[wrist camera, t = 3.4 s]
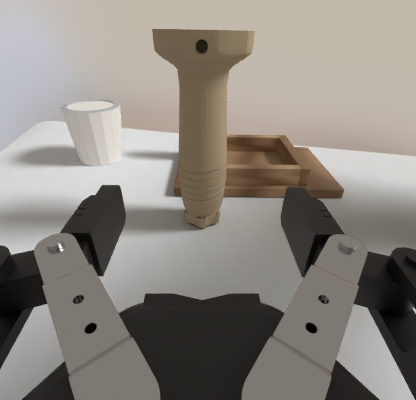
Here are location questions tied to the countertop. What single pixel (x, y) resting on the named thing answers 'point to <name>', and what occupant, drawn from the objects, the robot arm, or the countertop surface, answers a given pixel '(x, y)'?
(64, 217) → the countertop surface
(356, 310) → the countertop surface
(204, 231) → the countertop surface
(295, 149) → the seat board
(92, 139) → the white faceted cup
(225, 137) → the handle
